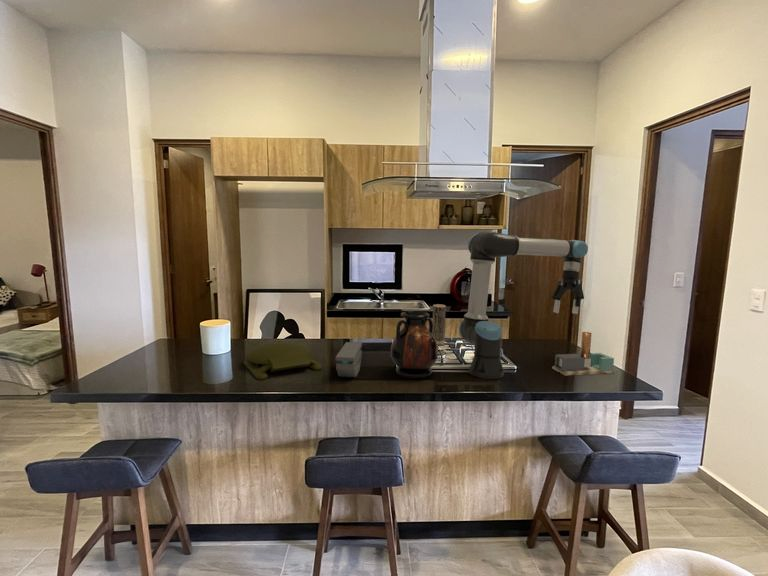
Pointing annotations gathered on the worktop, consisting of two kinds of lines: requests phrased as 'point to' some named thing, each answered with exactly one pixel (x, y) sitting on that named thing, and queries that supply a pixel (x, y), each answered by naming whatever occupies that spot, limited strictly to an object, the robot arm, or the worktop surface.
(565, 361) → the sleeve
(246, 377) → the worktop surface
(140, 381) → the worktop surface
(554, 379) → the worktop surface
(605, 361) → the socket
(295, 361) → the olive folded cloth
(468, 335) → the robot arm
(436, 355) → the amphora vase
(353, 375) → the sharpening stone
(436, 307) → the wooden log
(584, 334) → the slip bolt
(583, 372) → the base board
